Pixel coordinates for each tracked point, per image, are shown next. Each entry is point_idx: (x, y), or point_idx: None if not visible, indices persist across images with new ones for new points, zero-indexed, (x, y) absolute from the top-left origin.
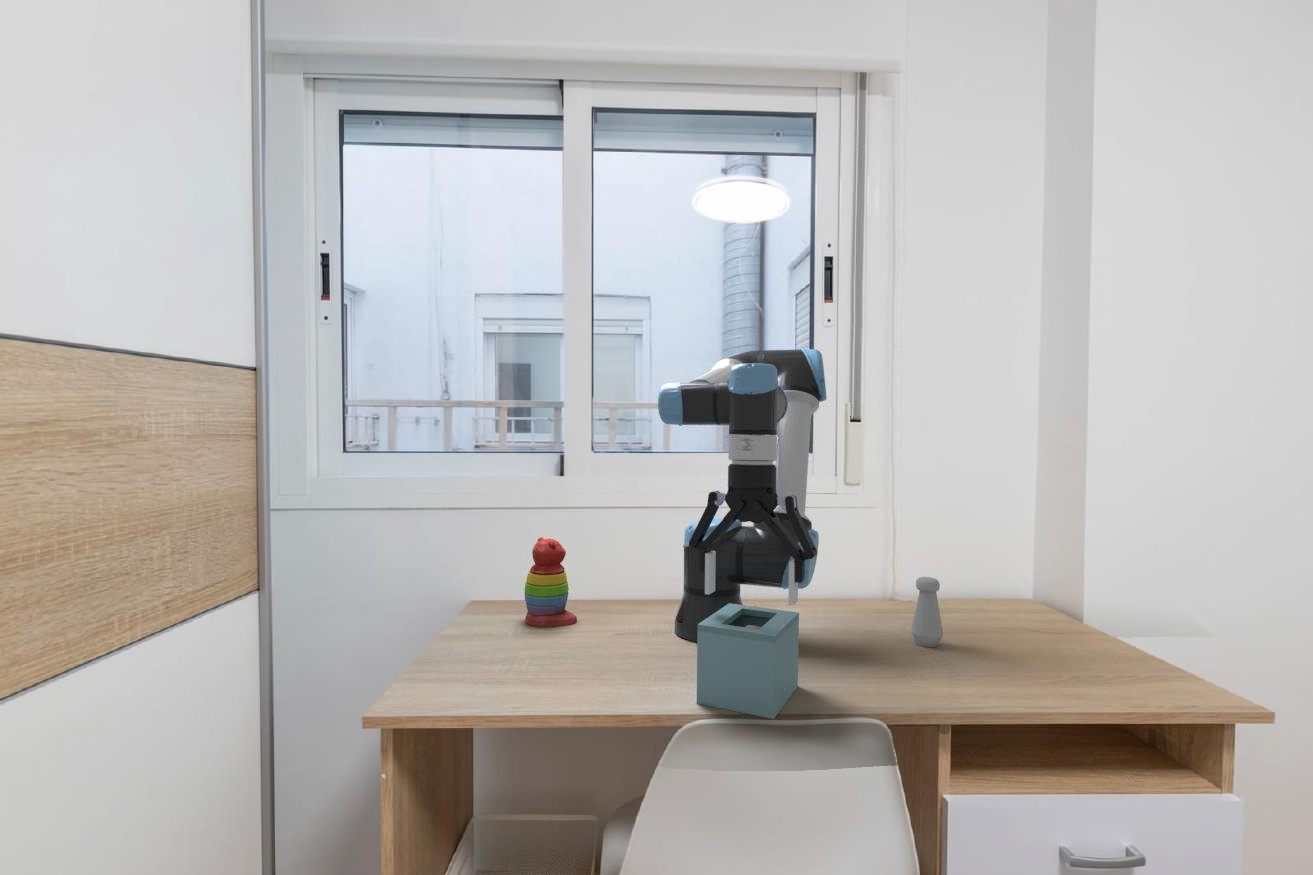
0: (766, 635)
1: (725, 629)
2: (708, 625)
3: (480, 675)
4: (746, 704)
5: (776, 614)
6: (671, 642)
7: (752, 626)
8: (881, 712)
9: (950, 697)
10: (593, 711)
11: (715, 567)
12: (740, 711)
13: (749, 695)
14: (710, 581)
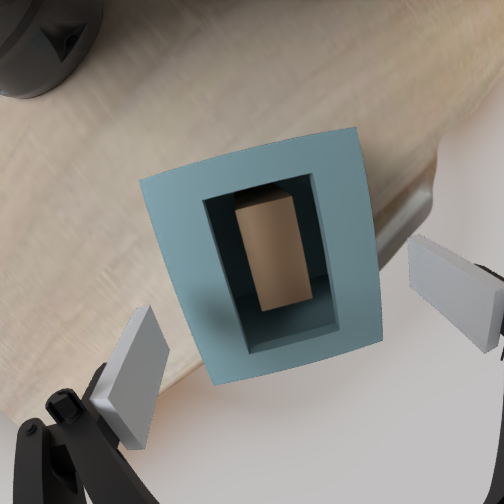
0: (366, 344)
1: (278, 371)
2: (236, 378)
3: (11, 384)
4: None
5: (317, 188)
6: (20, 127)
7: (253, 214)
8: (433, 155)
9: (467, 59)
10: None
11: (128, 351)
12: None
13: None
14: (158, 365)
